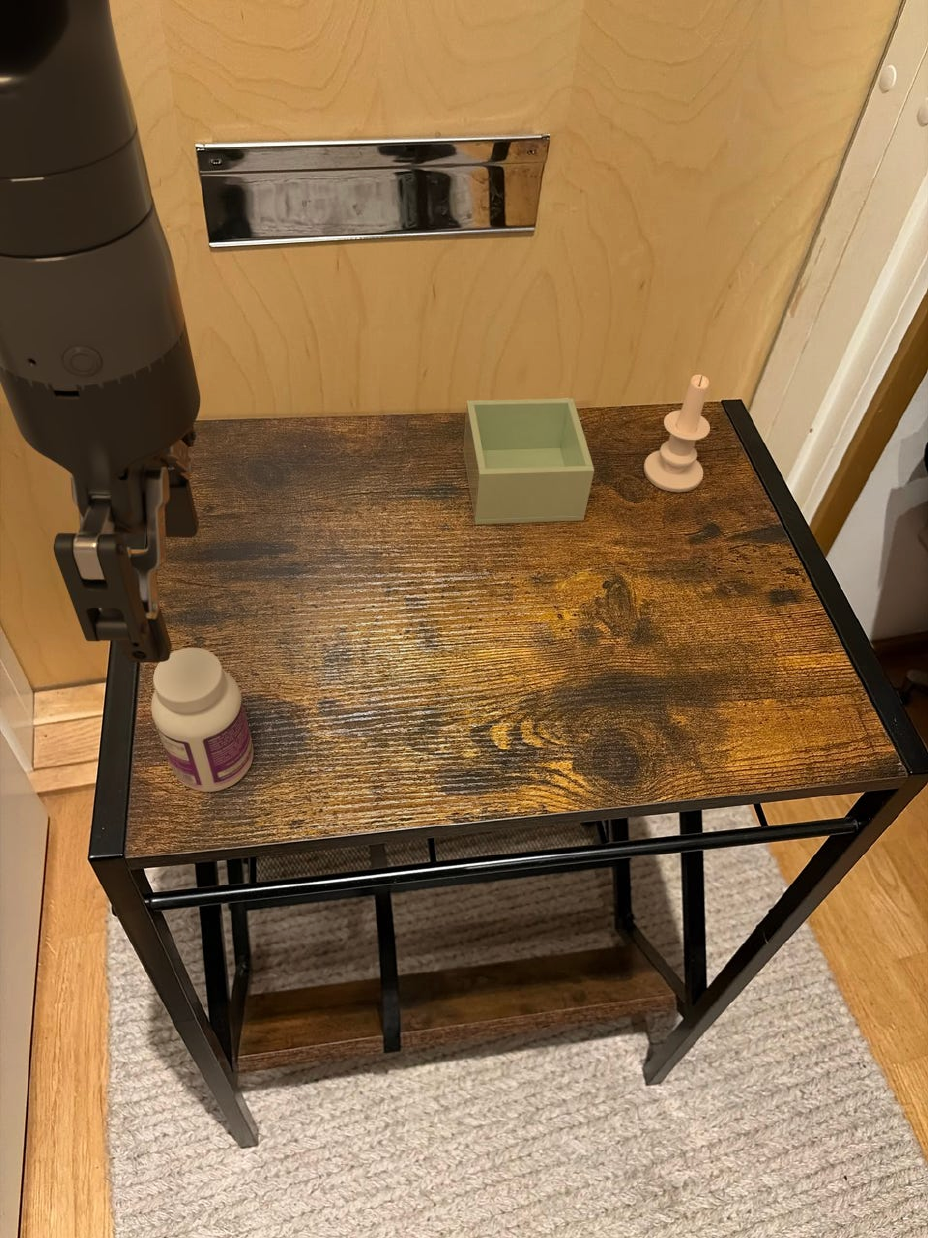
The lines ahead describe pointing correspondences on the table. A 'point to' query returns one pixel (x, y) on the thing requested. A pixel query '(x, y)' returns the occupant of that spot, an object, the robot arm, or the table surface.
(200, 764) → the pill bottle
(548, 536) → the table surface
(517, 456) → the green open box
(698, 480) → the candle
